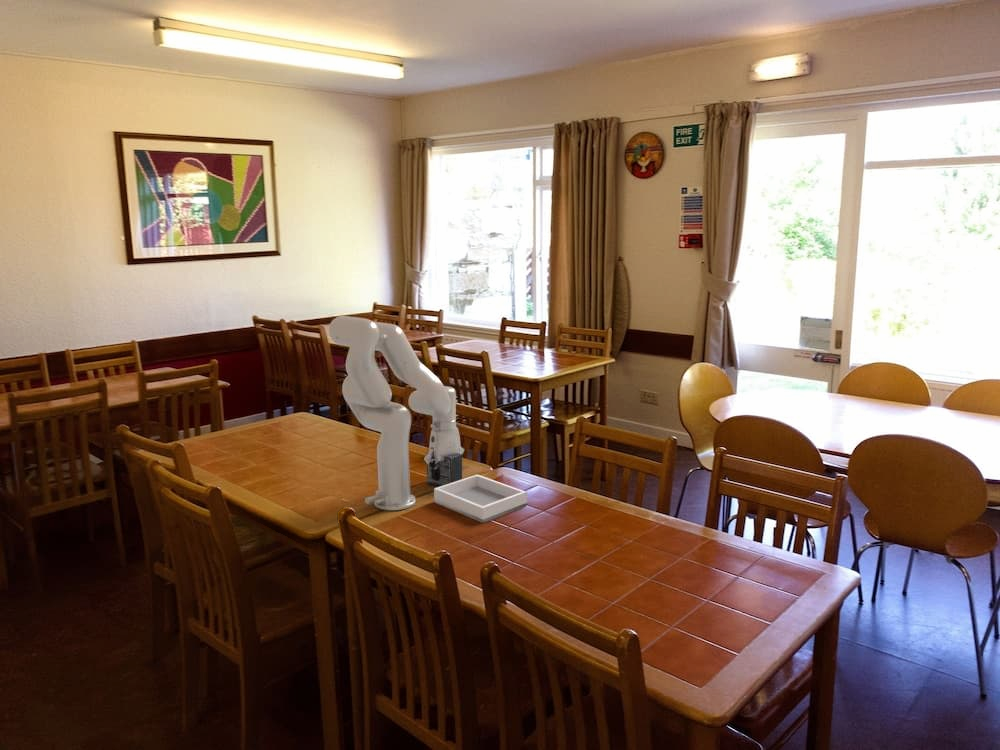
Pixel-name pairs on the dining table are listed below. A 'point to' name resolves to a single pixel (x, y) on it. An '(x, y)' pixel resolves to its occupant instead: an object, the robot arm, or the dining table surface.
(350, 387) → the robot arm
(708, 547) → the dining table surface
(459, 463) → the small box
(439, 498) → the bin
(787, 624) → the dining table surface
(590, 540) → the dining table surface
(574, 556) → the dining table surface
